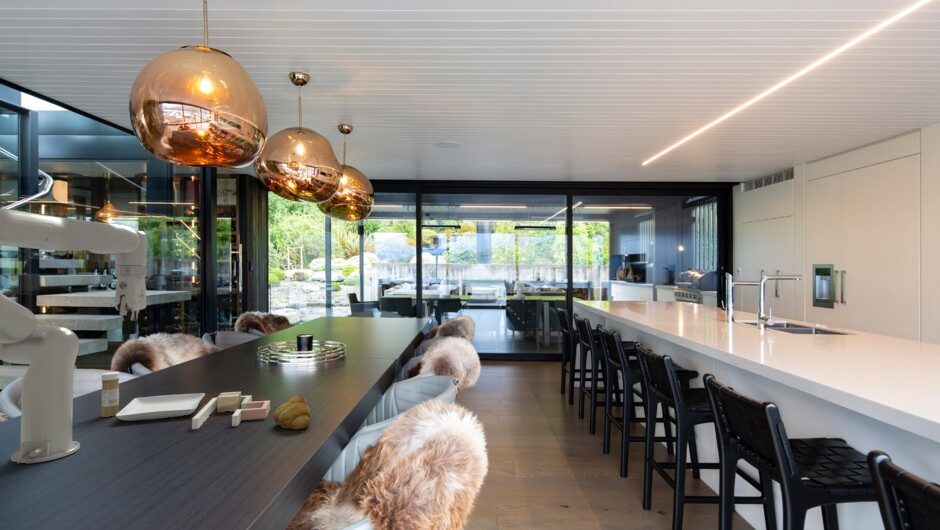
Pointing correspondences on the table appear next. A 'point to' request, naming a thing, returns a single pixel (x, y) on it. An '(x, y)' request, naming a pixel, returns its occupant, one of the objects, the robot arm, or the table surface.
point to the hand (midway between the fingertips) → (129, 333)
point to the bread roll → (293, 413)
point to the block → (228, 401)
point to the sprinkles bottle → (110, 393)
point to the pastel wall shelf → (245, 413)
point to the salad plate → (160, 407)
